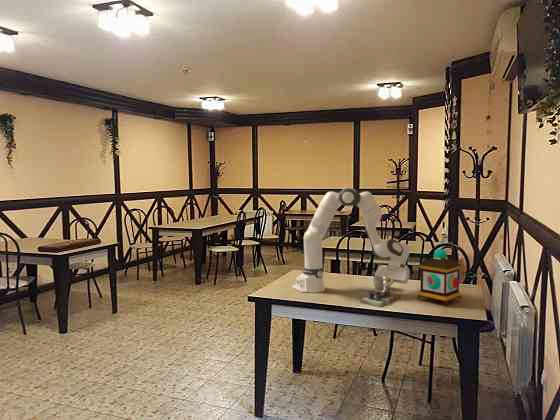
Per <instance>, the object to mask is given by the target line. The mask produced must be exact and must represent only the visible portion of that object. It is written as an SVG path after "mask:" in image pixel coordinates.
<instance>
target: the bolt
mask: <svg viewBox="0 0 560 420" xmlns="http://www.w3.org/2000/svg"><path fill="white" fill-rule="evenodd" d="M388 290H389V288H388V277H387V276H384V277H383V290H381V291H380V292H381V296H383V295H386V291H388Z"/></svg>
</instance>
